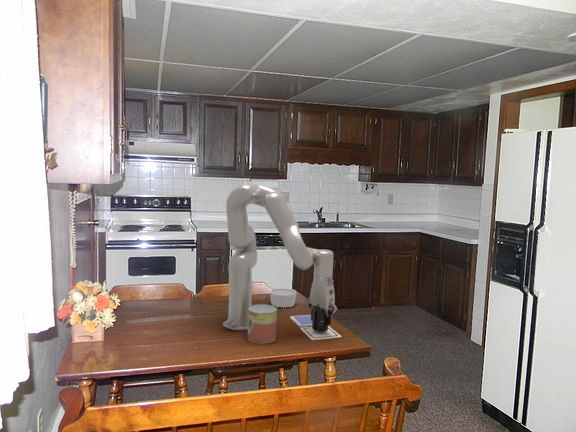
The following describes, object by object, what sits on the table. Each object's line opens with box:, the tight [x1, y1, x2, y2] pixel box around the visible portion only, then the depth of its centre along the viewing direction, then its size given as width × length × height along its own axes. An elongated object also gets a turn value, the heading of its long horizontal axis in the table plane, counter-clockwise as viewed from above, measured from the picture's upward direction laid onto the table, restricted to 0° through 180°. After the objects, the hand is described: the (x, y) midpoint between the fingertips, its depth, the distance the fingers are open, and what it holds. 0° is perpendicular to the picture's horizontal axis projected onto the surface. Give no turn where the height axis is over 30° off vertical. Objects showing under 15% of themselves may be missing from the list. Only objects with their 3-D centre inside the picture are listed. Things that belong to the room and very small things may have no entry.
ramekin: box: [269, 287, 298, 309], centre depth 214 cm, size 13×13×7 cm
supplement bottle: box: [311, 305, 330, 332], centre depth 178 cm, size 7×7×12 cm
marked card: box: [299, 325, 342, 341], centre depth 178 cm, size 13×13×1 cm
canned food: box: [246, 303, 278, 345], centre depth 170 cm, size 11×11×12 cm
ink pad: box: [289, 314, 312, 328], centre depth 191 cm, size 12×12×1 cm
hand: (320, 322), depth 178 cm, fingers closed on supplement bottle, 6 cm apart
